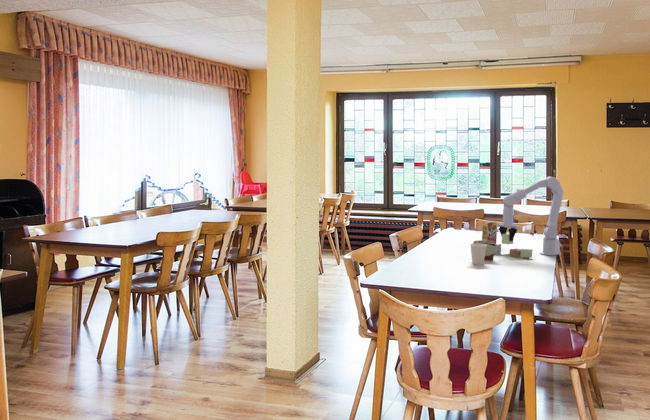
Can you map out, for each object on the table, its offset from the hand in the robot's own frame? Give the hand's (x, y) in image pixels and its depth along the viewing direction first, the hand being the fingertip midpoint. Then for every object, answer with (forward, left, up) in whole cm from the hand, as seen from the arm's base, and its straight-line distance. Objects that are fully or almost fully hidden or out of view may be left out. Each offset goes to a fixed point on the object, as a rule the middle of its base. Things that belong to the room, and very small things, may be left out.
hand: (507, 240), depth 363 cm
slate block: (+8, -2, -7) cm, 11 cm away
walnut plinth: (+6, +11, -7) cm, 15 cm away
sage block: (0, 0, -2) cm, 2 cm away
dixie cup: (+42, +14, -7) cm, 45 cm away
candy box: (-10, -21, -7) cm, 24 cm away
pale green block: (+7, +18, -7) cm, 21 cm away
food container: (+29, +8, -7) cm, 31 cm away
